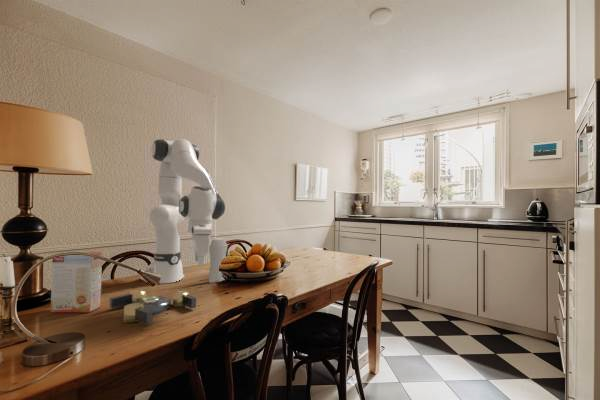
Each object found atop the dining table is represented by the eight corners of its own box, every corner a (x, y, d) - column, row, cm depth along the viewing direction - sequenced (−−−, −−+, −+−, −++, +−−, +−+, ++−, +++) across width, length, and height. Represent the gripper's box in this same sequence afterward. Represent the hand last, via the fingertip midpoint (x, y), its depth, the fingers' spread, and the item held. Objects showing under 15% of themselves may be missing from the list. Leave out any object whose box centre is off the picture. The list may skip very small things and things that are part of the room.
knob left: (170, 304, 106) (170, 293, 106) (183, 300, 110) (184, 289, 110) (186, 312, 98) (186, 299, 98) (200, 307, 103) (200, 296, 103)
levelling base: (123, 310, 100) (124, 297, 100) (158, 300, 111) (159, 288, 111) (142, 318, 93) (142, 304, 93) (177, 307, 104) (178, 294, 104)
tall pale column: (224, 278, 147) (225, 236, 147) (228, 279, 144) (229, 237, 145) (206, 282, 138) (207, 238, 139) (210, 283, 136) (211, 239, 136)
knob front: (120, 320, 91) (120, 306, 91) (137, 314, 96) (137, 301, 96) (140, 328, 85) (141, 314, 85) (158, 322, 89) (158, 308, 90)
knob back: (141, 299, 111) (141, 288, 111) (148, 302, 108) (148, 291, 108) (107, 308, 101) (107, 296, 101) (114, 311, 98) (114, 299, 98)
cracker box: (101, 307, 103) (103, 251, 104) (89, 313, 97) (91, 253, 98) (64, 306, 103) (66, 250, 104) (49, 312, 97) (51, 253, 98)
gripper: (189, 225, 115) (188, 259, 115) (194, 230, 97) (192, 269, 96) (205, 225, 118) (204, 258, 117) (212, 230, 100) (211, 268, 99)
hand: (198, 263), depth 107 cm, fingers open, 8 cm apart
